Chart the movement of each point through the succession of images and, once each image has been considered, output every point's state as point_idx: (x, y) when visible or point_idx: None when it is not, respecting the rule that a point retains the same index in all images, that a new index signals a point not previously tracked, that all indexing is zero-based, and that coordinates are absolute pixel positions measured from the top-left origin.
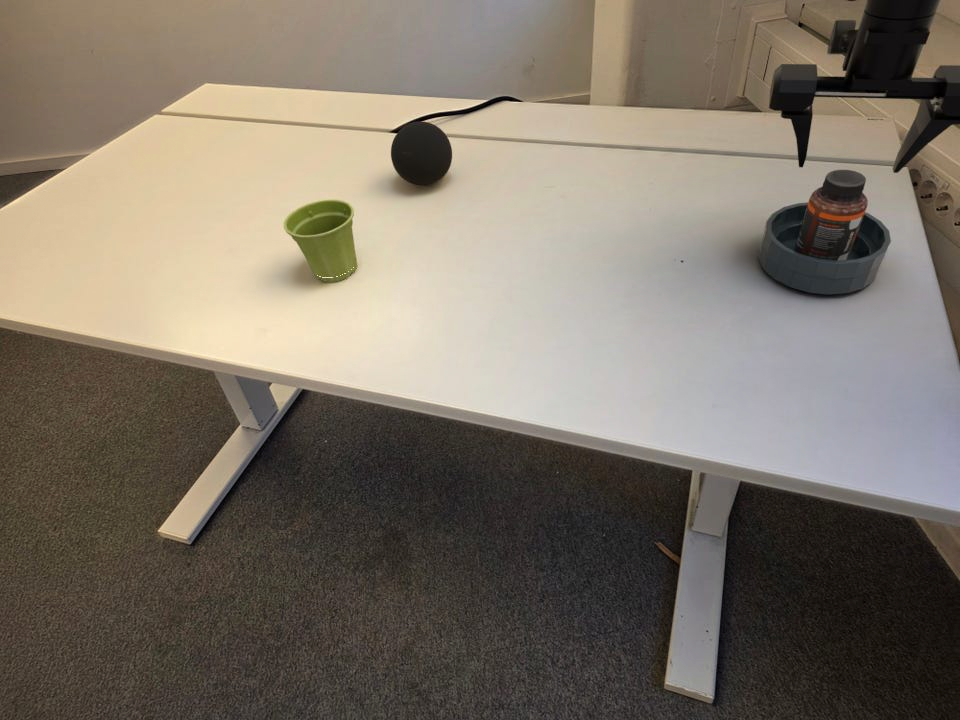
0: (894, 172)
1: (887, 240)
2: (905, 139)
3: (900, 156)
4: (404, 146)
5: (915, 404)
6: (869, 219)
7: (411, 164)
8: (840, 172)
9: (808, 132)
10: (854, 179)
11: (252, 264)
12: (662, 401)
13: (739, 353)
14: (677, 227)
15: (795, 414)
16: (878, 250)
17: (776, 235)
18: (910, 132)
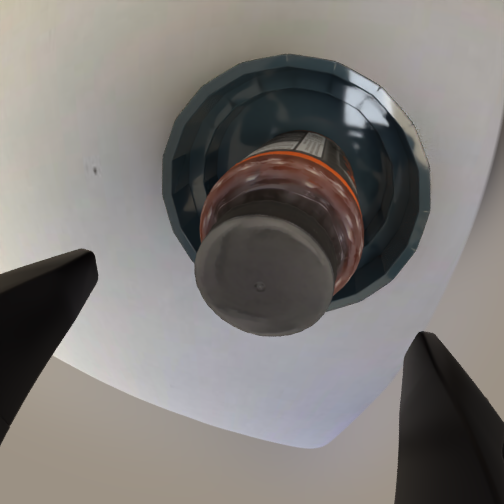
0: (406, 357)
1: (410, 248)
2: (453, 435)
3: (410, 416)
4: None
5: (337, 405)
6: (409, 147)
7: None
8: (247, 246)
9: (10, 420)
10: (286, 303)
11: None
12: (135, 375)
13: (184, 345)
14: (80, 72)
15: (233, 402)
16: (376, 281)
17: (207, 144)
18: (455, 481)
